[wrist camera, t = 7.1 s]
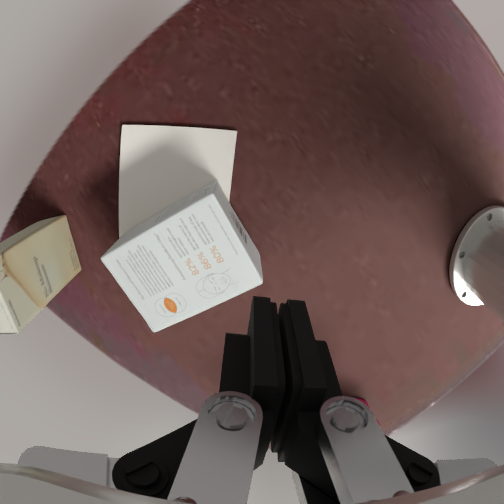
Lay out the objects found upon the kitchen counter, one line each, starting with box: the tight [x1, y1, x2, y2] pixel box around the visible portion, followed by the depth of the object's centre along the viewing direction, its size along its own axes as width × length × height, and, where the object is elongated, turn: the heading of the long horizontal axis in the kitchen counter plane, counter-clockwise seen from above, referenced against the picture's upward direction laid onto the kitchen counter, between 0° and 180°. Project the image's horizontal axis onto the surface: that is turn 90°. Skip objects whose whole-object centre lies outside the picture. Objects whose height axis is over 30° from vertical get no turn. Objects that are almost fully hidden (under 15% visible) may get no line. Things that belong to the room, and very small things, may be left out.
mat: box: [119, 125, 237, 238], centre depth 27 cm, size 10×12×1 cm
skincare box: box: [0, 215, 81, 335], centre depth 23 cm, size 6×4×12 cm
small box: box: [101, 181, 263, 332], centre depth 26 cm, size 8×6×10 cm
